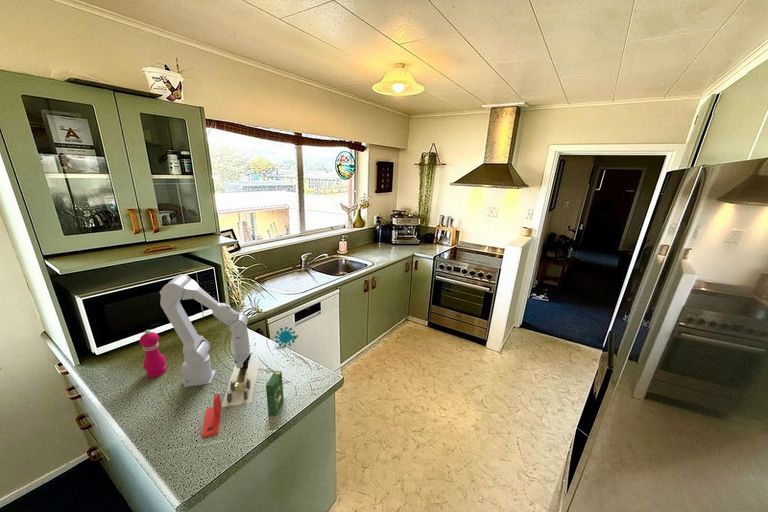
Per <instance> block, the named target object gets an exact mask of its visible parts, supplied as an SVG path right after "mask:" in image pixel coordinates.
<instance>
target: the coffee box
mask: <svg viewBox="0 0 768 512" xmlns="http://www.w3.org/2000/svg"><path fill="white" fill-rule="evenodd" d="M265 390H266V392H265V393H266V403H267V415H268V416H271V417H272V416H273V417H274V416H277V413H278V412H279V410H280V408H281V406H282V404H283V401H284V399H285V397H284V386H283V373H282V371H281V370H274V372H273V373H272V375H271V376H270V377H269V380H268V381H267V383H266V384H265Z"/></svg>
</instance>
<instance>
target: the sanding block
mask: <svg viewBox="0 0 768 512" xmlns="http://www.w3.org/2000/svg"><path fill="white" fill-rule="evenodd" d="M247 376H248V371H247V368H245V369H240V370H239V374H238V377H237V381H236V384H235V391H236V393H241V392H244V389H245V385H246V379H247Z"/></svg>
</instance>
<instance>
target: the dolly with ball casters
mask: <svg viewBox="0 0 768 512" xmlns="http://www.w3.org/2000/svg"><path fill="white" fill-rule="evenodd" d="M229 382H230V381H229ZM230 383H231V384H230V389H231V391H228V392H227V402H231V400H232V397H233V396H232V391H234V390H235V381H231V382H230ZM250 386H251V380H250V379H249V378H248V379H246V389H244V394H243V395H244V400H246V399H248V395H249V393H248V389H250Z"/></svg>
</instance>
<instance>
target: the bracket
mask: <svg viewBox="0 0 768 512" xmlns="http://www.w3.org/2000/svg"><path fill="white" fill-rule="evenodd" d="M221 413H222V401H221V395H220V394H219V393H218V394H214V396H213V406H211V407H207V408H206V412H205V414H204V415H205V416H204V422H203V427H202V433H201V437H202V438H207V437H211V436H214V435H218V434H219V429H220V428H219V427H220V421H221V420H220V419H221ZM210 429H212V430H210Z"/></svg>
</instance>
